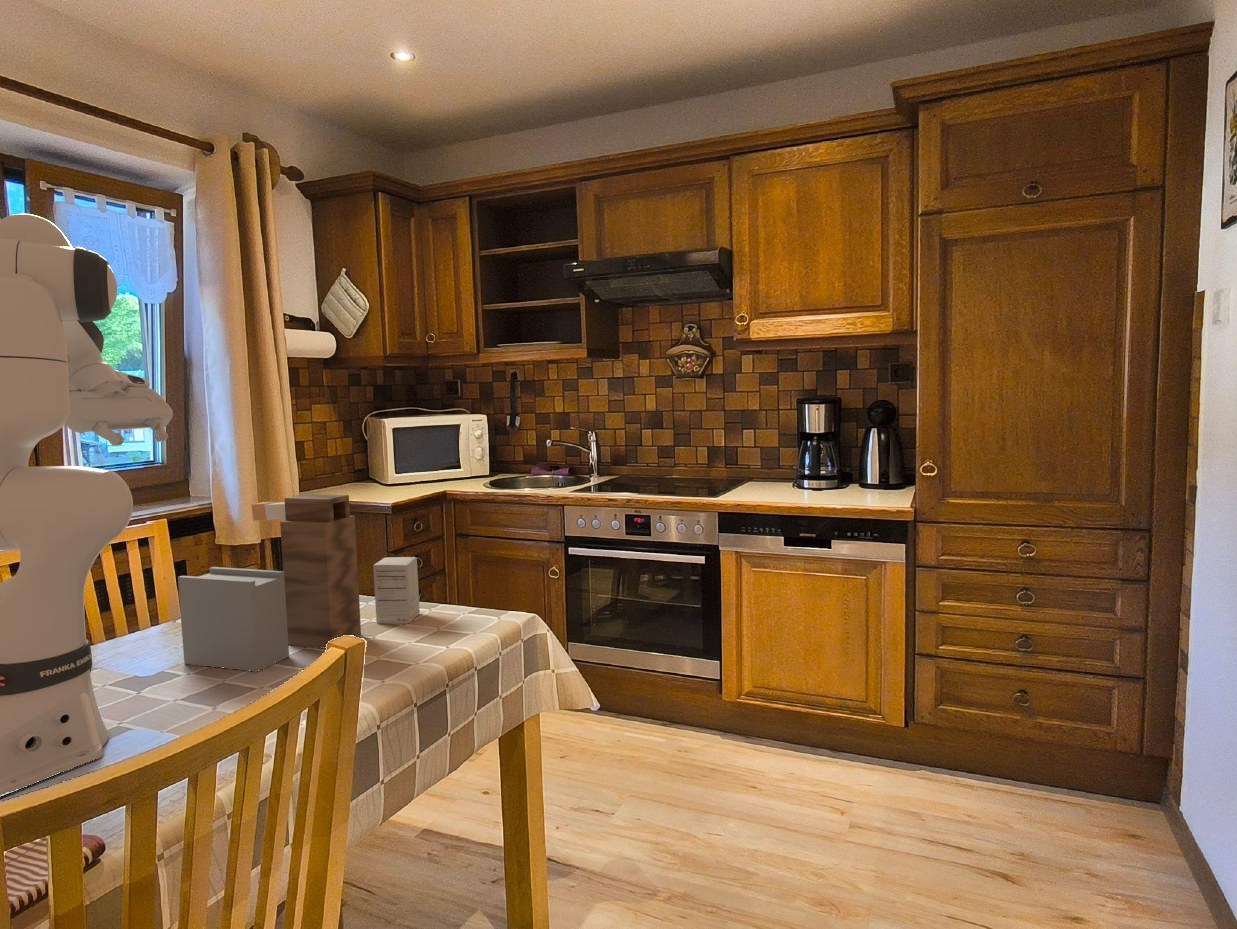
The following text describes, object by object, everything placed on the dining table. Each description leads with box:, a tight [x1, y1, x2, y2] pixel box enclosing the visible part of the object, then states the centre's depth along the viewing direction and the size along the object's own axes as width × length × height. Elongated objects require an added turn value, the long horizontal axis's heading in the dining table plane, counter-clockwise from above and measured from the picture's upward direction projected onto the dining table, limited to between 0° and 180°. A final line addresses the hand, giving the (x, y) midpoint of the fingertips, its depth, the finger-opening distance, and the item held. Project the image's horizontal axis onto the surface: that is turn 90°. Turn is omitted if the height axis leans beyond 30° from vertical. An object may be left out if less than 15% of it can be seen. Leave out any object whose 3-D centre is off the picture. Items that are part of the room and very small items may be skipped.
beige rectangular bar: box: [250, 501, 286, 522], centre depth 151 cm, size 3×14×3 cm, turn 73°
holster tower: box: [279, 493, 362, 650], centre depth 150 cm, size 9×10×28 cm
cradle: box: [177, 566, 290, 673], centre depth 139 cm, size 8×16×16 cm, turn 73°
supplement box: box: [372, 556, 420, 624], centre depth 164 cm, size 7×7×13 cm
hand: (142, 441), depth 147 cm, fingers open, 8 cm apart
